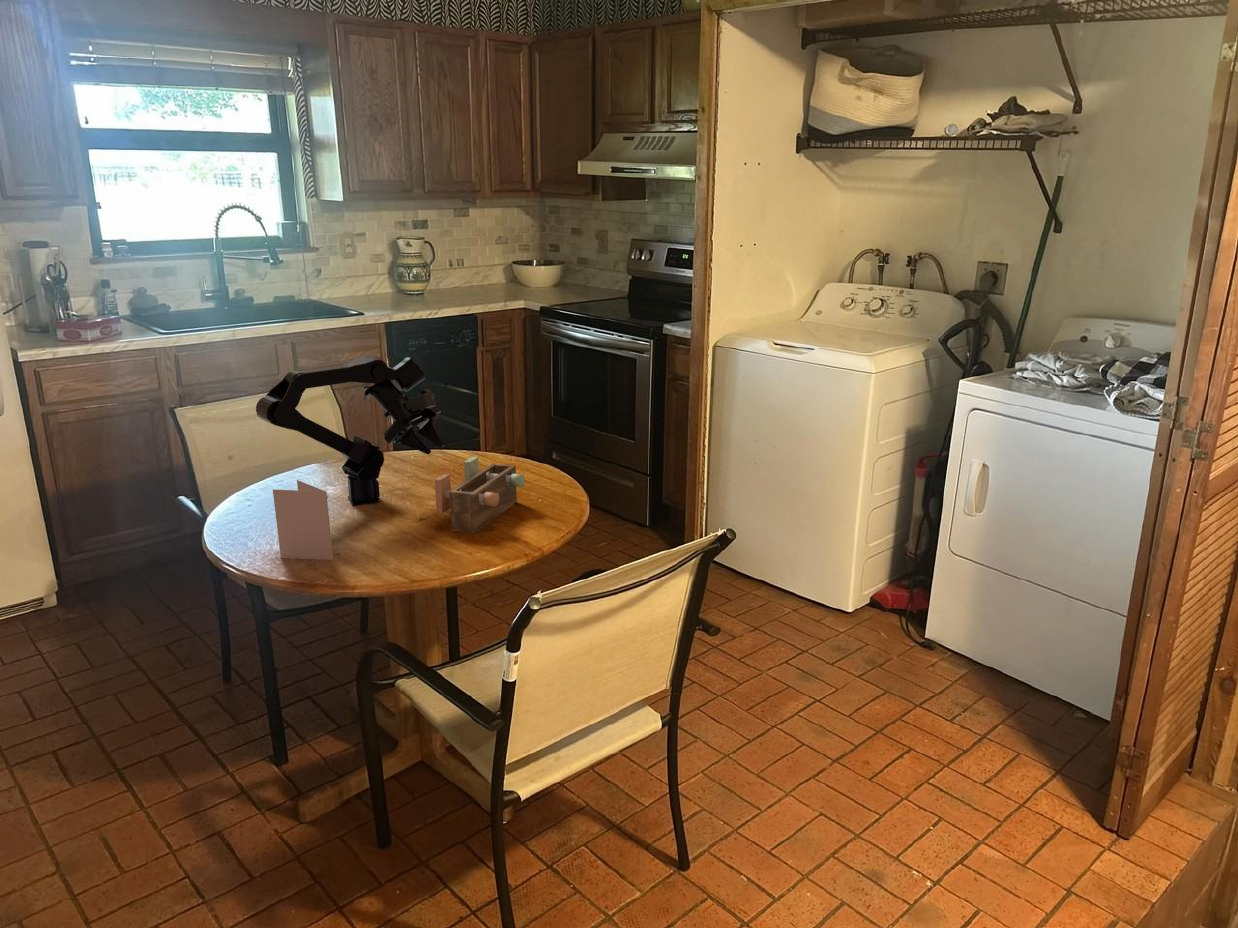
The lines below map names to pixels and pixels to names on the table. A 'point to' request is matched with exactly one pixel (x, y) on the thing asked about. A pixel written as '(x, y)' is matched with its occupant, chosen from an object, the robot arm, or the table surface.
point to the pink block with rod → (445, 486)
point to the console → (466, 504)
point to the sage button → (473, 468)
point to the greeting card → (303, 523)
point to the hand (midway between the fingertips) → (436, 449)
